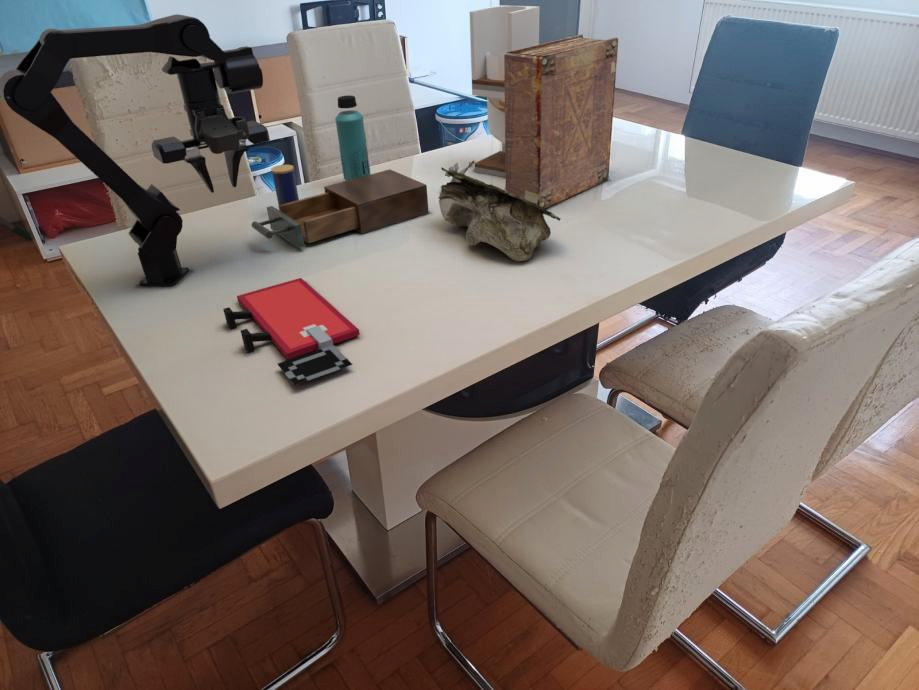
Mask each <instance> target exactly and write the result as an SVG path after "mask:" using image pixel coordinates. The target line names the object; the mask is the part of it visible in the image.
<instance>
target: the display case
mask: <svg viewBox="0 0 919 690" xmlns="http://www.w3.org/2000/svg"><path fill="white" fill-rule="evenodd" d="M540 9H541V6H538V5H537V6H535V5H533V6H532V5H499V4H498V5H494V6H488V7H484V8H479V9H476V10H475V9H474V10H471V11H469V35H470V37H469V39H470V67H471V68H470V69H471V96H475V97H485V98H486V103H487V104H486V106H487V129H488V131H489V133H490V134H491V136H492V137H494V138H495V139H496V140H497V141H499V142H501V150H499V151H497V152H495V153H493V154H490V155H488V156H487V157H485V158H483V159H480V160H478V161H475V162H474V164H473V166H474V172H475V173H480V174H486V175H491V176H495V177H502V178H506V173H505V77H504V54H505V53H507V52H511V51H515V50H519V49H523V48H527V47H532V46H536V45H540V11H541V10H540Z"/></svg>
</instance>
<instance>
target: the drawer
mask: <svg viewBox="0 0 919 690" xmlns="http://www.w3.org/2000/svg"><path fill="white" fill-rule="evenodd" d="M266 212H267V216H268V219H267V220H263V221H260V222H259V221H254V220H253V222H251V228H252V229H254V230H255V231H257V233H259V234H261V235H262V236H263V237H264V238H266V239H269V240H270V239H273V237H274V236H276V235H279V236H281V237H282V238H283V239H285V240H286V241H288V242H289V243H291V244H292V245H293V246H295V247H296V248H297V249H301V248H305V242H306V243H308V244H310V243H311V244H312V243H314V242H317V241H320V240H324V239H328V238H330V237H334V236H337V235H340V234H344V233H346V232H349V231H353V230H354V229H357V228H360V226H359V219H358V211H357V206H355V205H353V204H351V203H349V202H347V201H345V200H344V199H342V198H340V197H338V196H336V195H334V194H332V193H330V192H327V193H325V192H323V193H319V194H316V195H312V196H309V197H305V198H300V199H299V200H297V201H293V202H290V203H286V204H282V205H278V209H277V208H276V207H275V206H273V205H270V206H267V207H266ZM267 225H269V227H270V229H271V230H269V229H268V228H267V227H265V226H267Z"/></svg>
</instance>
